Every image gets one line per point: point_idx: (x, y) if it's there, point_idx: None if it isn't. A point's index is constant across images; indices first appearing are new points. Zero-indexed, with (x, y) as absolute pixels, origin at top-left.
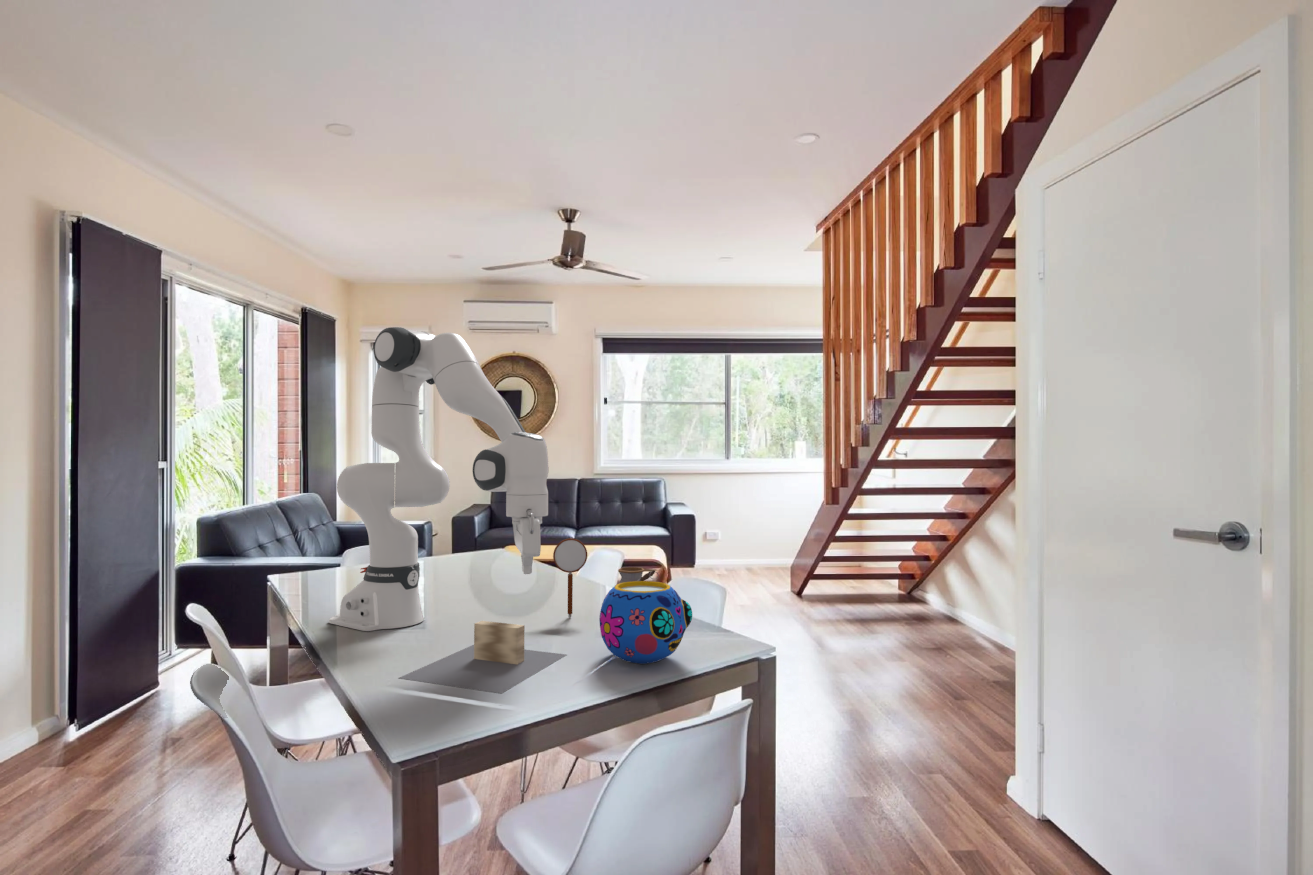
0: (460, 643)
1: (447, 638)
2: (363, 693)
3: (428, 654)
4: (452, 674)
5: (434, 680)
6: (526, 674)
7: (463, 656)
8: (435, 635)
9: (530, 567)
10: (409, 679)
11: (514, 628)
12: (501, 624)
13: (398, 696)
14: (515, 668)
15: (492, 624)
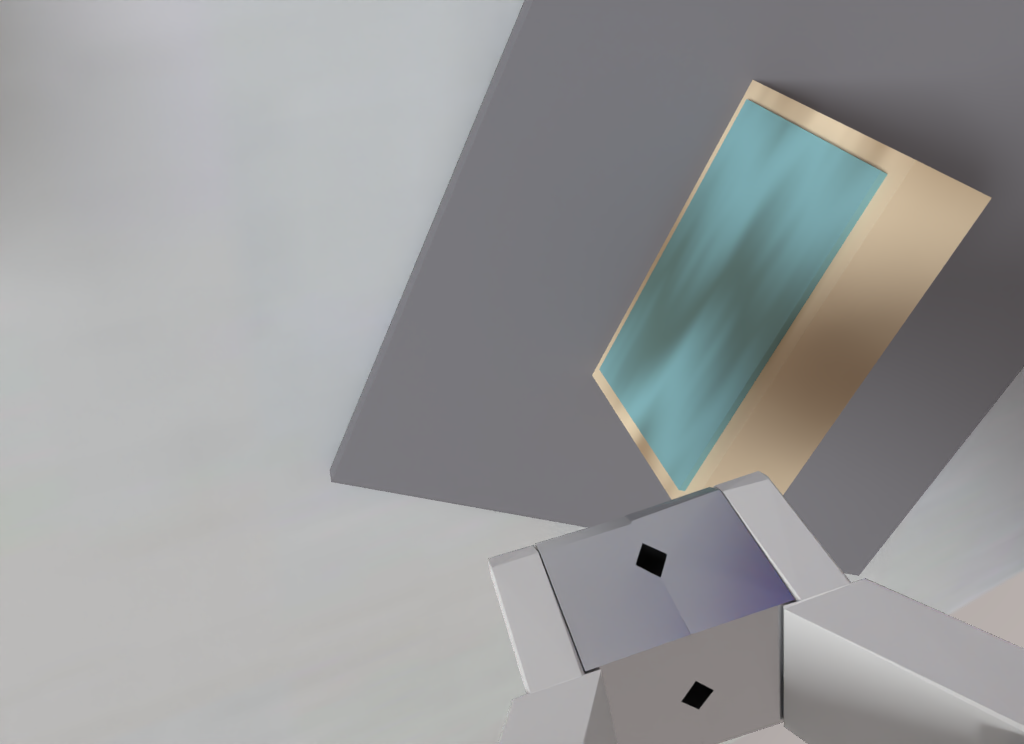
0: (268, 567)
1: (163, 664)
2: (938, 603)
3: (490, 619)
4: (883, 403)
5: (935, 444)
6: (1022, 12)
7: (603, 455)
8: (105, 738)
9: (828, 567)
10: (888, 533)
11: (969, 224)
12: (830, 353)
13: (1012, 495)
14: (890, 108)
15: (810, 415)
